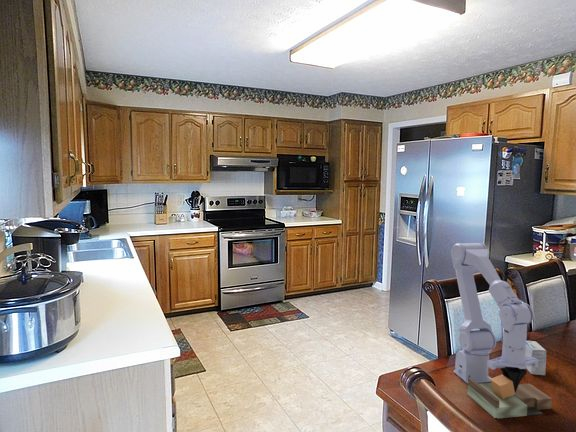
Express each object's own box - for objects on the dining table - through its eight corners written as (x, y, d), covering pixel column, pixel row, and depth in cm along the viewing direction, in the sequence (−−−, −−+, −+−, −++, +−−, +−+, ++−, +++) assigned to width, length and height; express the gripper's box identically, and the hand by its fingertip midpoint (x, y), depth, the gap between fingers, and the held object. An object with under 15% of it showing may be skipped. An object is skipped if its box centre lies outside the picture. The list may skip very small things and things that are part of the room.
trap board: (495, 418, 100) (496, 400, 100) (467, 394, 112) (468, 378, 112) (557, 412, 103) (558, 395, 103) (523, 389, 115) (524, 373, 115)
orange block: (502, 399, 104) (500, 386, 104) (492, 391, 108) (490, 378, 108) (515, 394, 105) (512, 381, 104) (504, 386, 109) (502, 374, 108)
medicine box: (545, 376, 123) (547, 350, 123) (530, 374, 124) (532, 349, 124) (534, 364, 131) (536, 341, 130) (520, 363, 132) (522, 339, 131)
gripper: (501, 352, 101) (498, 400, 102) (548, 349, 103) (545, 396, 104) (483, 342, 108) (481, 386, 109) (528, 339, 110) (525, 383, 111)
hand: (511, 390), depth 107 cm, fingers closed
